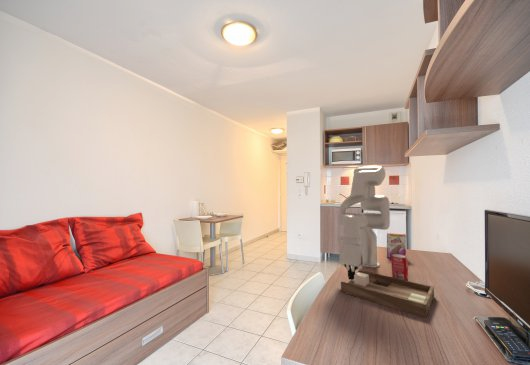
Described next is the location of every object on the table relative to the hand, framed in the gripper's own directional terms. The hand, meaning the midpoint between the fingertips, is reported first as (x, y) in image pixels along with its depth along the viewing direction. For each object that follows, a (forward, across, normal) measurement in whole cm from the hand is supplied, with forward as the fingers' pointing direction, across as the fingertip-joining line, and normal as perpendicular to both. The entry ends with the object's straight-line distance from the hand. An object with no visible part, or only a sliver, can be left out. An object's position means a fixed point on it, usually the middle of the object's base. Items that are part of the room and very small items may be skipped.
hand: (351, 278), depth 116 cm
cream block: (+1, +5, 0) cm, 5 cm away
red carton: (+3, +16, +20) cm, 26 cm away
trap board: (+3, +16, 0) cm, 16 cm away
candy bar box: (+3, +4, +66) cm, 66 cm away
